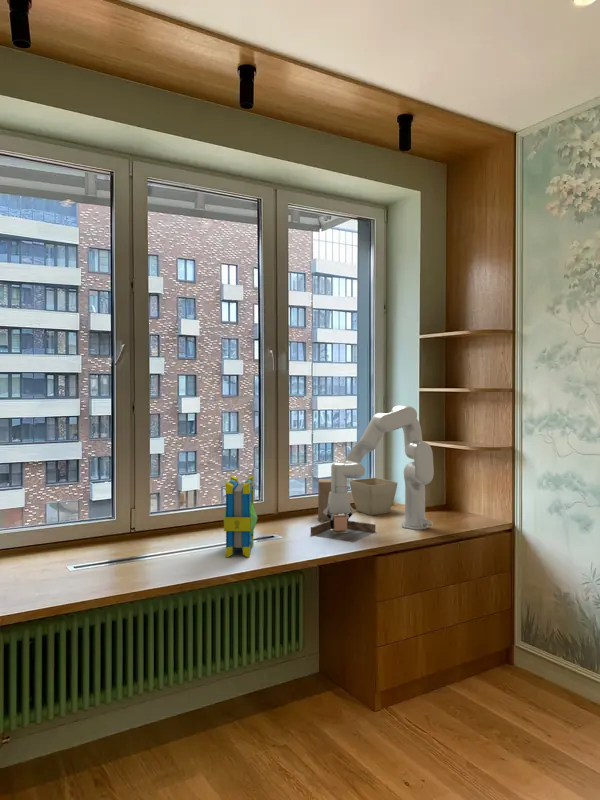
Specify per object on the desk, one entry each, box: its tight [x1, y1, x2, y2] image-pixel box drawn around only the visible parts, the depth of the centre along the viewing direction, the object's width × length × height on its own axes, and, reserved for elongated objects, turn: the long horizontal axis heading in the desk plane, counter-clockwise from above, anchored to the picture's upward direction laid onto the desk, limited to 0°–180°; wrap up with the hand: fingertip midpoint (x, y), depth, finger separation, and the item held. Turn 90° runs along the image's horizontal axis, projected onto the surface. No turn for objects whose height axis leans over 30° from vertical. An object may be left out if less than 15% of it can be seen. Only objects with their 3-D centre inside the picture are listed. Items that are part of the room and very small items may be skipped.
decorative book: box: [222, 475, 259, 558], centre depth 255 cm, size 14×23×30 cm, turn 0°
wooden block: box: [317, 478, 339, 522], centre depth 315 cm, size 10×10×20 cm
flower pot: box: [349, 477, 398, 516], centre depth 332 cm, size 19×19×17 cm
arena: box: [310, 520, 377, 543], centre depth 283 cm, size 22×22×4 cm
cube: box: [333, 514, 347, 531], centre depth 287 cm, size 6×6×6 cm
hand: (339, 527), depth 288 cm, fingers closed on cube, 5 cm apart
